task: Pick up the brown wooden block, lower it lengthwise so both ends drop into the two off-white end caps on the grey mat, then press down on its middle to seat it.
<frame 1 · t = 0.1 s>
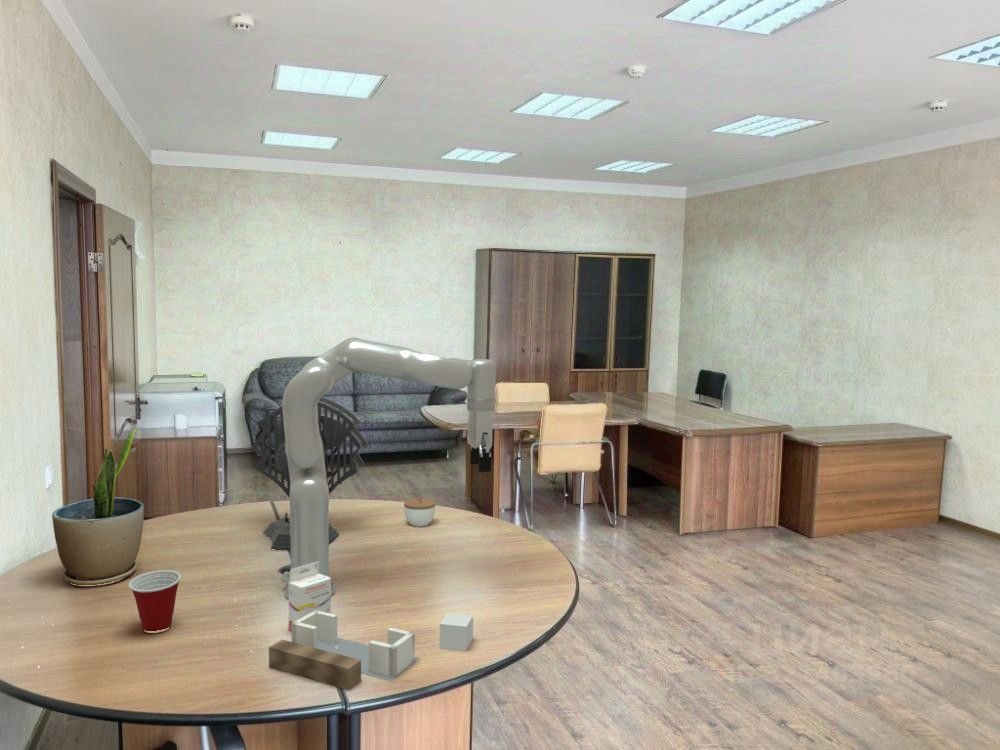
hand: (480, 467, 201), 31 cm above the table, tool pointing down, fingers open, 9 cm apart
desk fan: (304, 540, 236), on the table
potted plant: (101, 578, 201), on the table
brown wooden block: (314, 677, 150), on the table
end cap b: (392, 665, 154), resting on mat
ink cartridge box: (310, 629, 171), on the table
plastic cup: (156, 630, 170), on the table
end cap a: (314, 645, 162), resting on mat
lidded jar: (419, 524, 255), on the table
gray cube: (456, 646, 164), on the table
mat: (352, 657, 158), on the table
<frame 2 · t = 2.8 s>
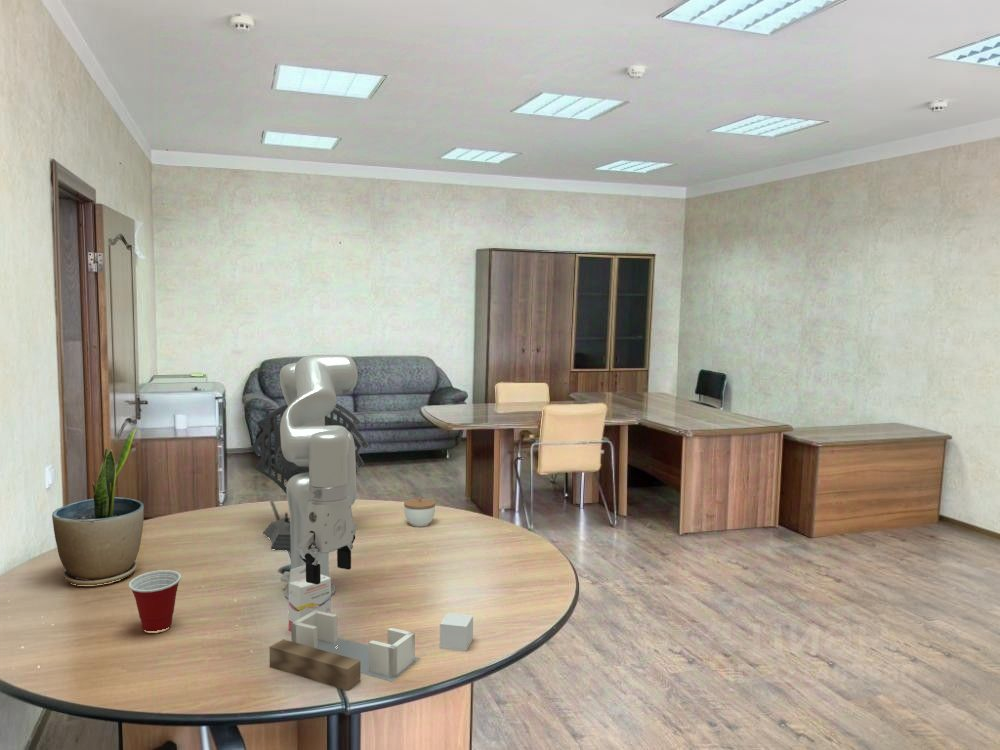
hand: (329, 575, 151), 20 cm above the table, tool pointing down, fingers open, 9 cm apart
nothing on the table moved.
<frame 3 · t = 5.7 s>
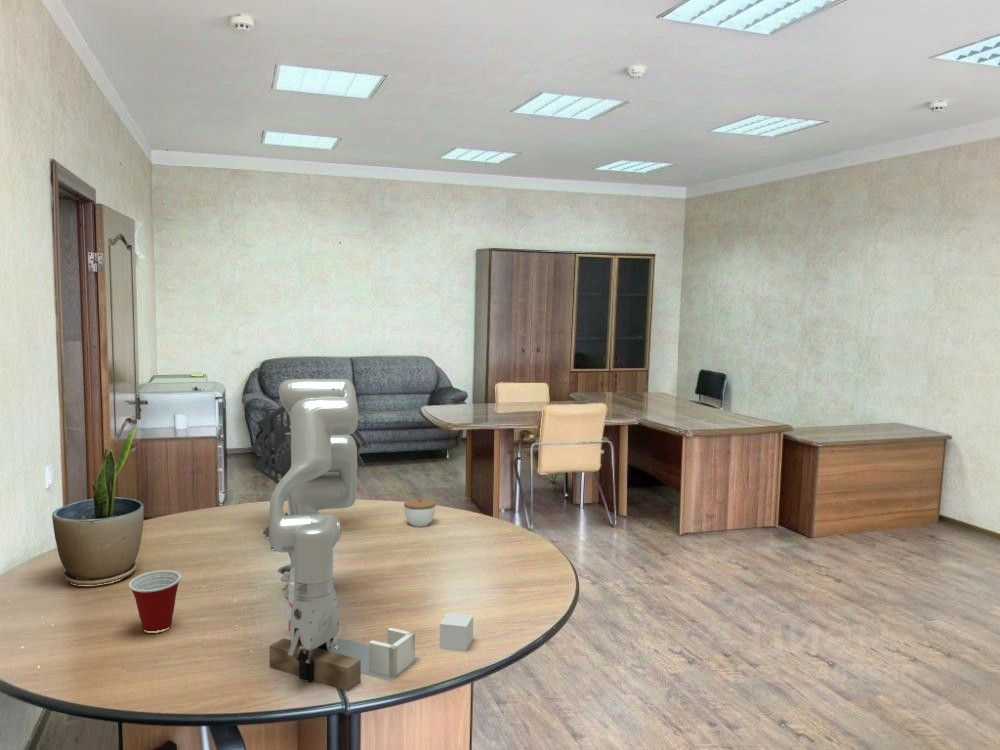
hand: (314, 674, 149), 0 cm above the table, tool pointing down, fingers closed on brown wooden block, 4 cm apart
brown wooden block: (314, 676, 149), on the table, touching gripper
everything else where it was.
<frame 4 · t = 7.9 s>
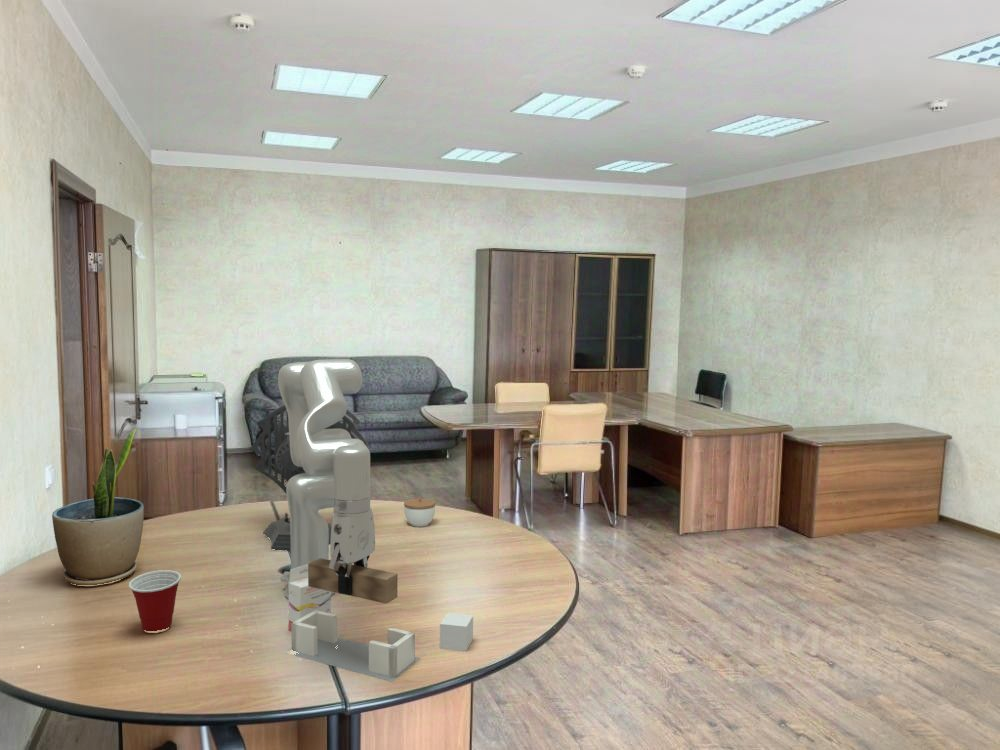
hand: (352, 589, 156), 15 cm above the table, tool pointing down, fingers closed on brown wooden block, 4 cm apart
brown wooden block: (352, 591, 156), point 14 cm above the table, touching gripper
everything else where it was.
when the fingers open (2 cm above the table, at t = 10.5 s): brown wooden block stays where it is, resting on mat.
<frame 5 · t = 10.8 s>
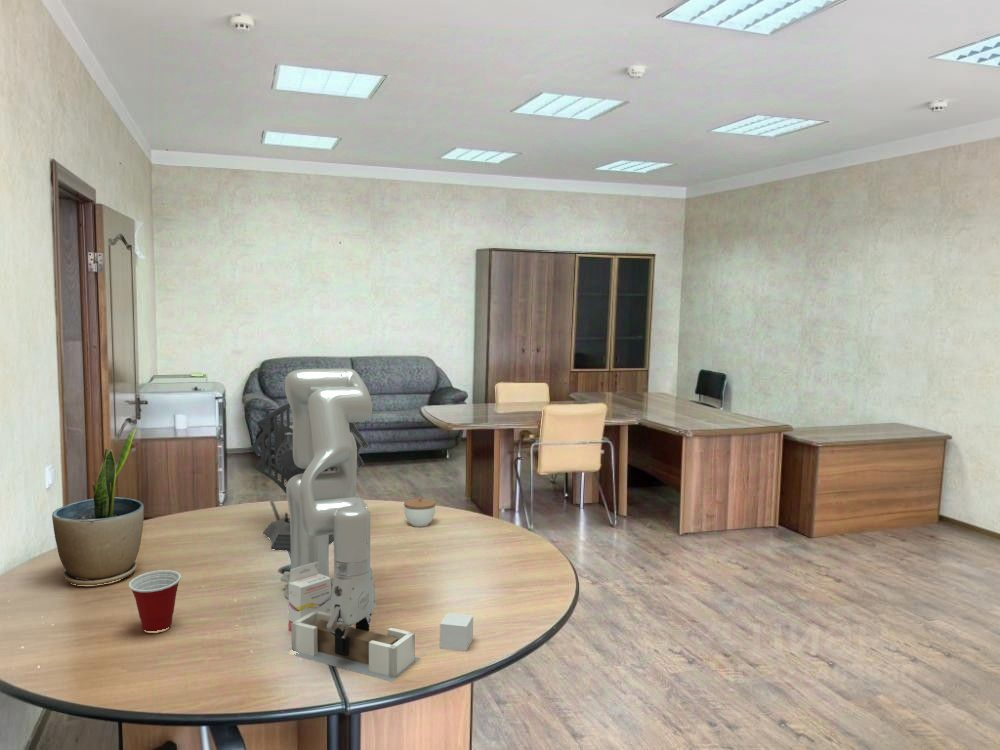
hand: (352, 647, 158), 2 cm above the table, tool pointing down, fingers open, 6 cm apart
brown wooden block: (352, 655, 158), resting on mat
everything else where it was.
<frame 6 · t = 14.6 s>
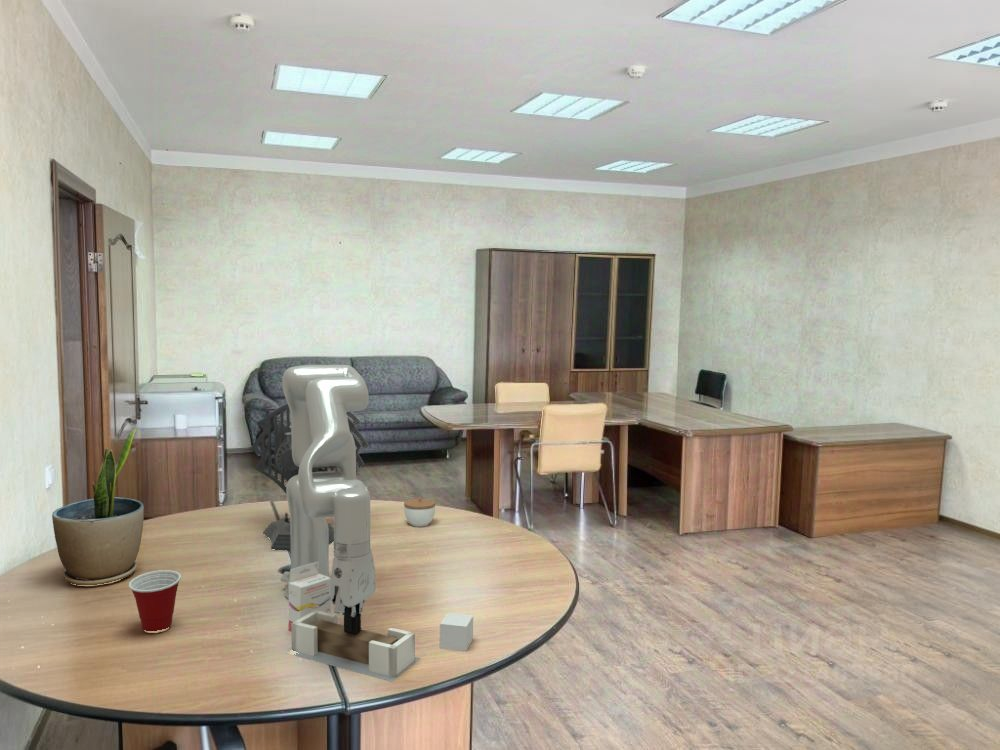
hand: (352, 631, 157), 6 cm above the table, tool pointing down, fingers closed
nothing on the table moved.
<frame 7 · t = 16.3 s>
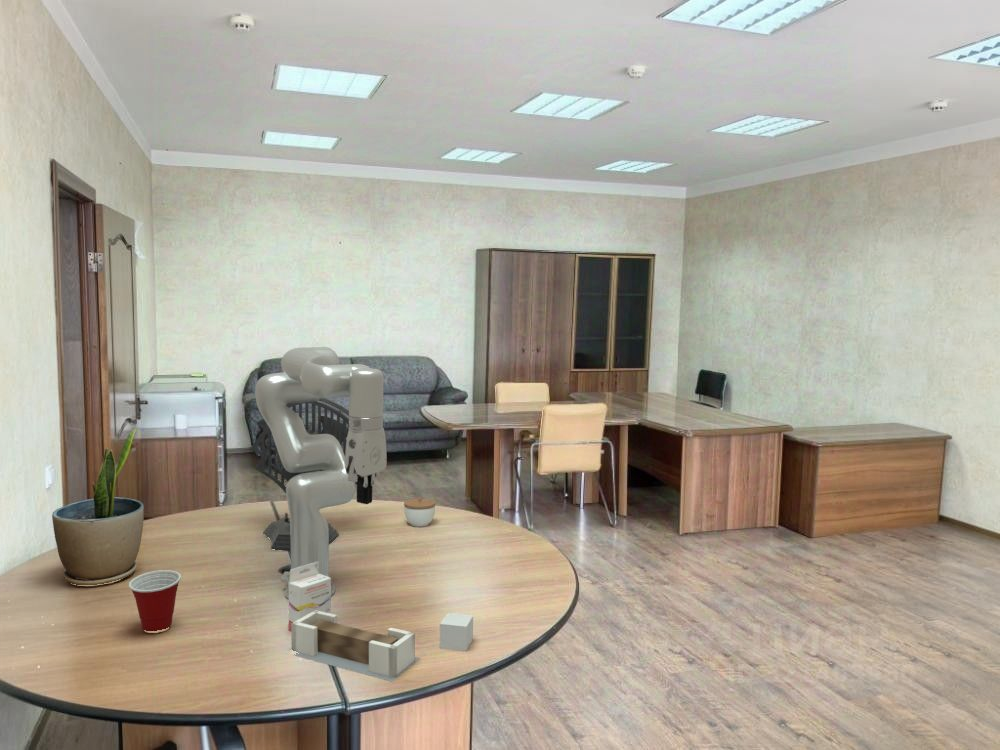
hand: (364, 502, 169), 30 cm above the table, tool pointing down, fingers closed
nothing on the table moved.
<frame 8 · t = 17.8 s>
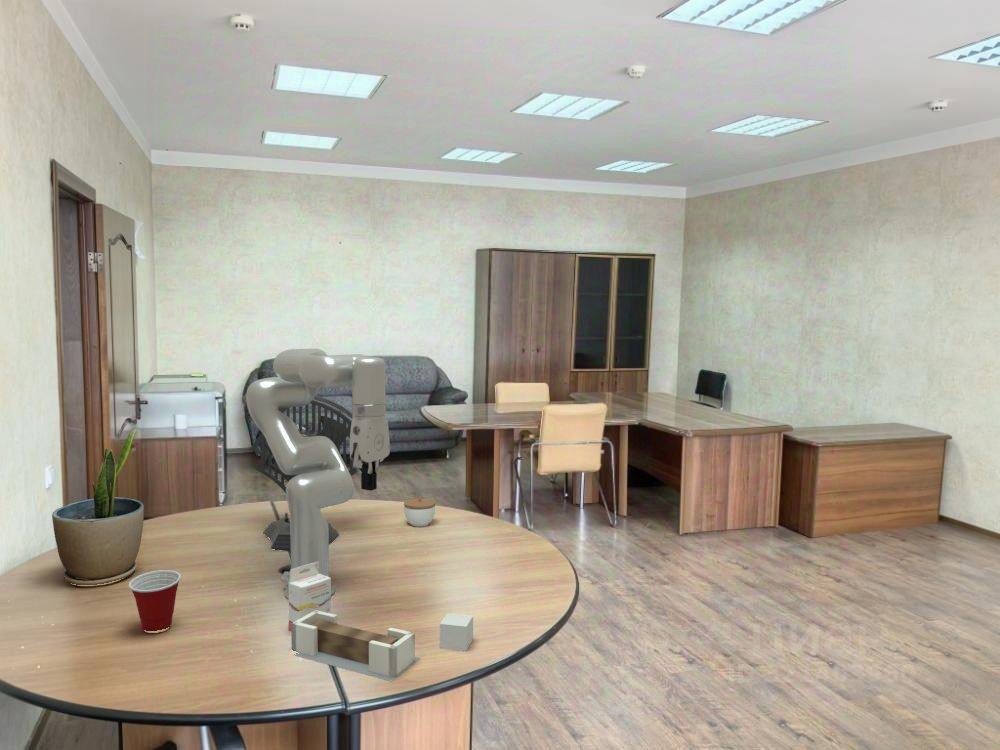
hand: (368, 489, 172), 32 cm above the table, tool pointing down, fingers closed
nothing on the table moved.
at the end: brown wooden block 0.1 cm from the target spot, resting on mat; brown wooden block tilted 0°; the gripper is holding nothing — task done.
